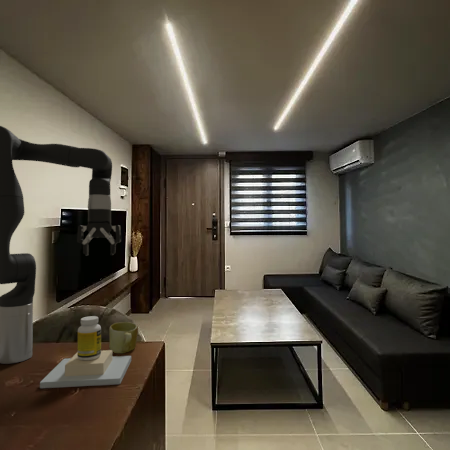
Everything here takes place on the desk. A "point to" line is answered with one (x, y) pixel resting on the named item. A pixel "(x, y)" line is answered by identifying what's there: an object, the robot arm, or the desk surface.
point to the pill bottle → (89, 339)
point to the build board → (87, 379)
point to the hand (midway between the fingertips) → (99, 255)
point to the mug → (123, 337)
